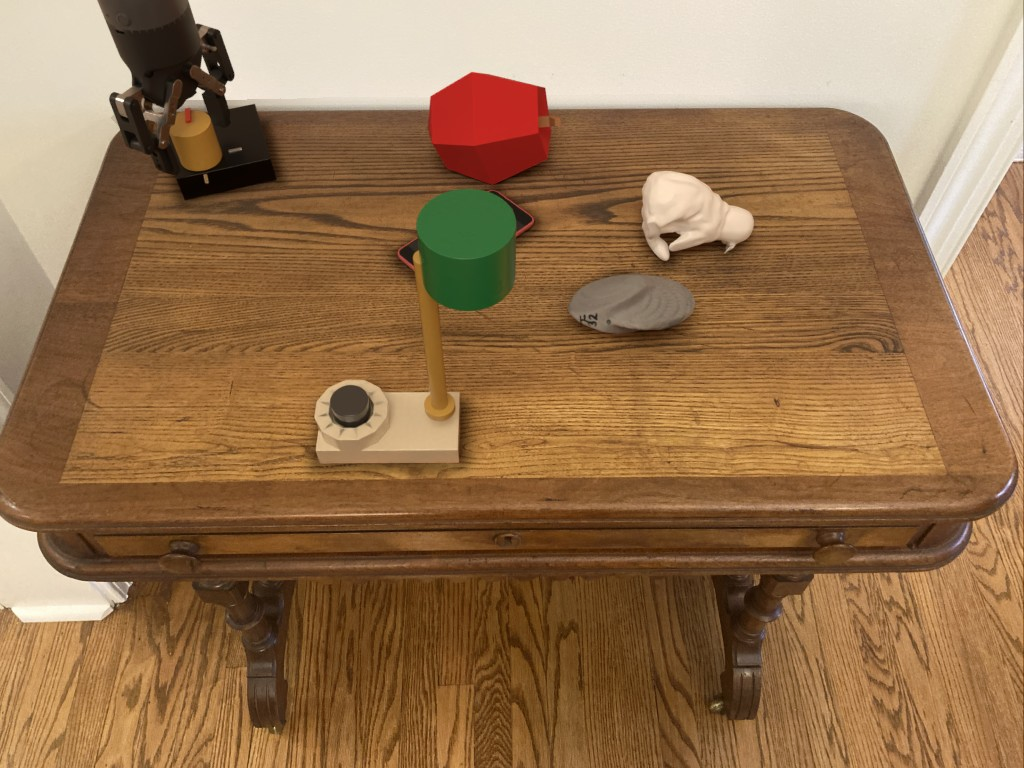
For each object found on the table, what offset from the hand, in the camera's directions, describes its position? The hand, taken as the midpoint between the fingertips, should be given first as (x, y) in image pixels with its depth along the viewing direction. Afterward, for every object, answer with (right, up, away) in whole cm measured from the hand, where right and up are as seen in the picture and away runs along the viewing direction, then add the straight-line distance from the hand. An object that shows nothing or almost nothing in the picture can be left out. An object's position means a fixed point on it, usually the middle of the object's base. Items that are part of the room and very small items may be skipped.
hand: (196, 147), depth 91 cm
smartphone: (+29, -10, -1) cm, 30 cm away
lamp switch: (+20, -27, -18) cm, 38 cm away
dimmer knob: (0, -1, +1) cm, 1 cm away
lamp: (+30, -27, -18) cm, 44 cm away
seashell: (+45, -18, -7) cm, 49 cm away
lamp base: (+23, -29, -15) cm, 40 cm away
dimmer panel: (+1, -1, +5) cm, 5 cm away
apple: (+31, 0, +6) cm, 31 cm away
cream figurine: (+52, -10, -1) cm, 53 cm away
